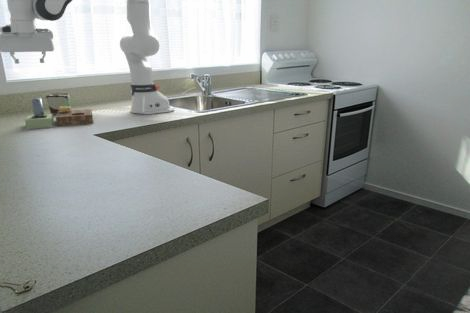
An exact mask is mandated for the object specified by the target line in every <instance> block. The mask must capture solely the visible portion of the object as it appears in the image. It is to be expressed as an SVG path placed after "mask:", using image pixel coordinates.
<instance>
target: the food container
mask: <svg viewBox="0 0 470 313" xmlns="http://www.w3.org/2000/svg"><path fill="white" fill-rule="evenodd" d="M45 99H46V100H47V105H48V108H49V109H48V110H49V112H50V113H49V114H52V115H57V112H58V111H59V107H60V106H70V99H71V96H70V94H69V93H68V92H53V93H45ZM68 111H69V110H68Z"/></svg>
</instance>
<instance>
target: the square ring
mask: <svg viewBox="0 0 470 313" xmlns="http://www.w3.org/2000/svg"><path fill="white" fill-rule="evenodd" d="M53 115H54V114H51V113H48V114H45V113H44V117H45V118H36V119H35V118H34V114H33V115H27V116H26V118H25V120H24V123H25V129H26V130H33V129H37V130H38V129H47V128H48V129H49V128H53V126H54V117H53Z"/></svg>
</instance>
